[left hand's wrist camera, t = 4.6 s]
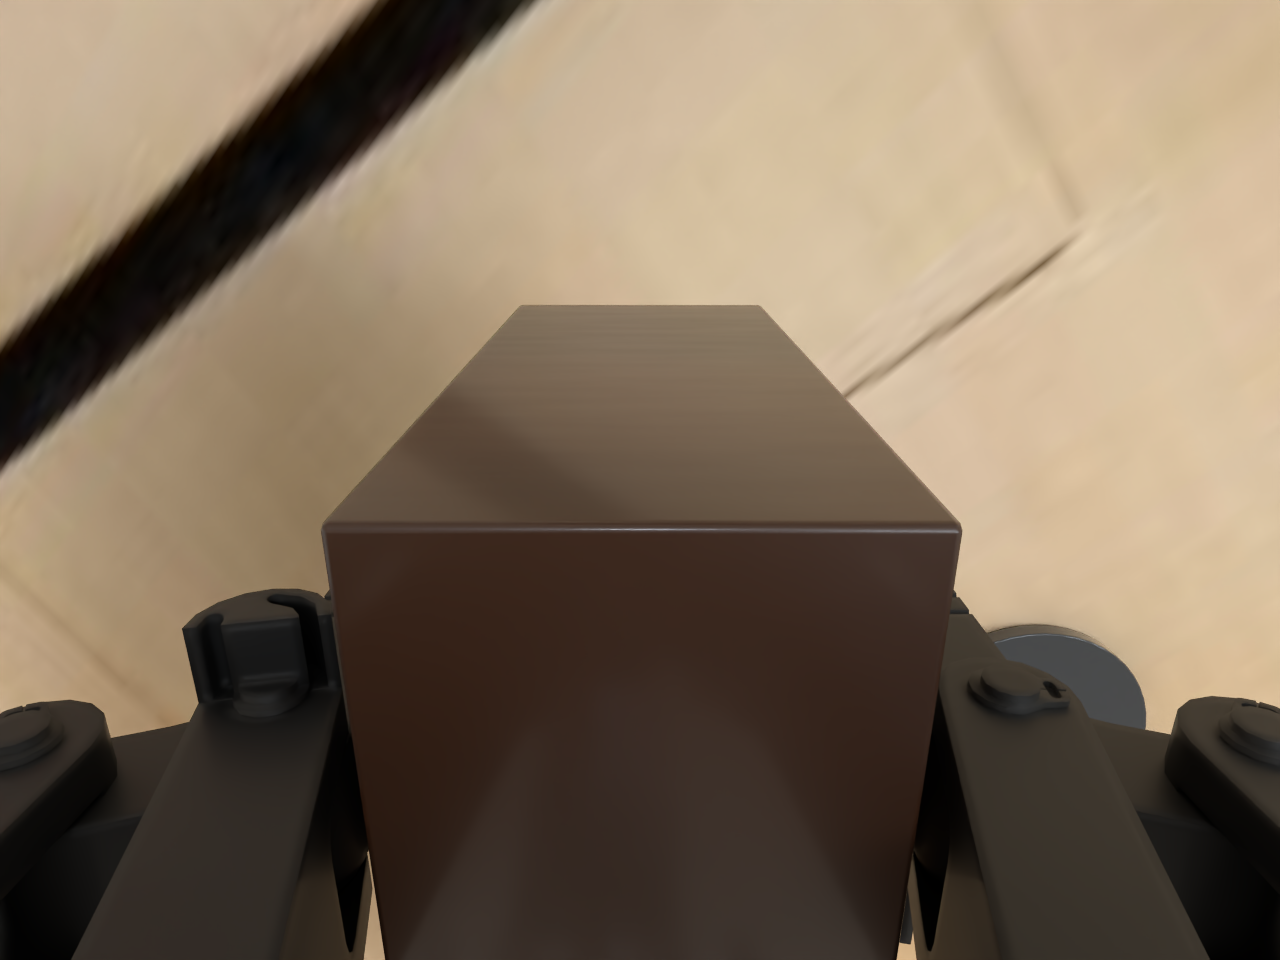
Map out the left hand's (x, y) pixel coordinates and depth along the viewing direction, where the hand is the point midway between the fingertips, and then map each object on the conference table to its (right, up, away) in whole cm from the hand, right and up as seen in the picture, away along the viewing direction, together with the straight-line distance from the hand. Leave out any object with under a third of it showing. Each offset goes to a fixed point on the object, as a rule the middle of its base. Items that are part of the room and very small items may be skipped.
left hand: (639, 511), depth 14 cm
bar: (0, -9, +4) cm, 9 cm away
